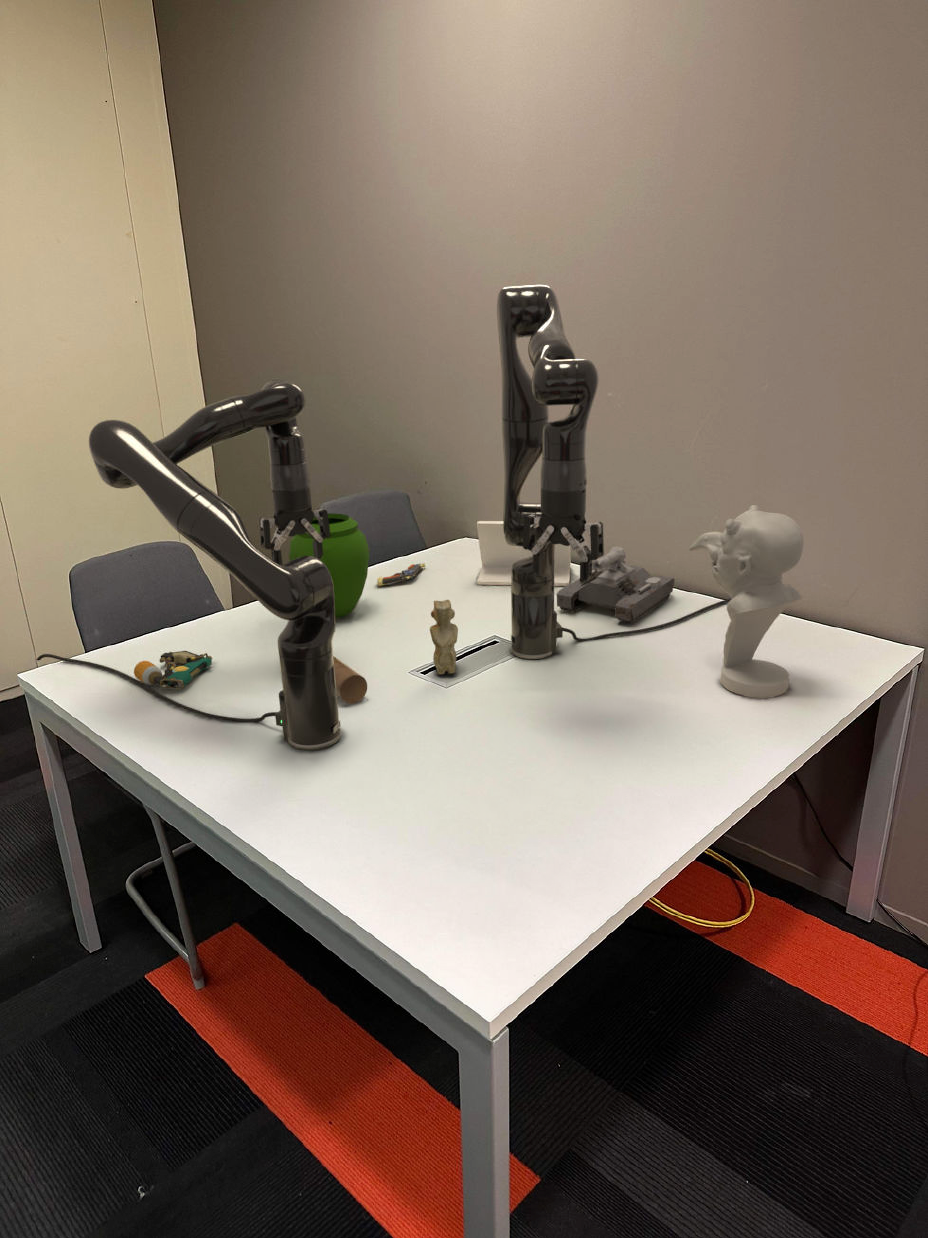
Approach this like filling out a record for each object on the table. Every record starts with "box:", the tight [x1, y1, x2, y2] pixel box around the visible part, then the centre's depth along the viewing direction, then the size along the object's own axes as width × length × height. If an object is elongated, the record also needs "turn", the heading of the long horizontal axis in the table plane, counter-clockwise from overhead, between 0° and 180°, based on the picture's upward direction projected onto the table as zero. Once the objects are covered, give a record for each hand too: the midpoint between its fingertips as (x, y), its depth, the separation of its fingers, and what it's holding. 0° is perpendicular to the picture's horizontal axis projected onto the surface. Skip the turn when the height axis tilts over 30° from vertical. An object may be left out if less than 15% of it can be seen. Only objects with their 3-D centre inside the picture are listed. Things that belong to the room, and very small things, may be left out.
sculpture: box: [429, 599, 459, 675], centre depth 177 cm, size 6×7×15 cm
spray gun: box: [133, 650, 213, 690], centre depth 180 cm, size 4×17×15 cm
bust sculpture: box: [688, 504, 804, 699], centre depth 167 cm, size 16×24×35 cm, turn 28°
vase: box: [288, 512, 370, 620], centre depth 209 cm, size 20×20×24 cm
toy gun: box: [376, 562, 426, 587], centre depth 240 cm, size 3×19×10 cm
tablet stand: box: [476, 520, 572, 587], centre depth 236 cm, size 18×25×17 cm
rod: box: [333, 655, 368, 705], centre depth 175 cm, size 26×6×6 cm, turn 34°
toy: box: [556, 546, 676, 624], centre depth 212 cm, size 25×20×15 cm
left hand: (298, 563), depth 175 cm, fingers open, 8 cm apart
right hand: (562, 577), depth 147 cm, fingers open, 8 cm apart
